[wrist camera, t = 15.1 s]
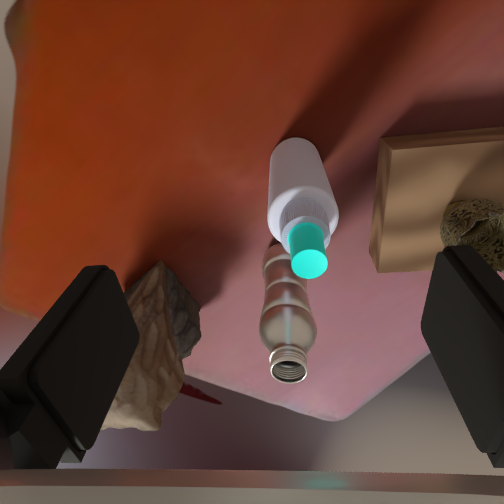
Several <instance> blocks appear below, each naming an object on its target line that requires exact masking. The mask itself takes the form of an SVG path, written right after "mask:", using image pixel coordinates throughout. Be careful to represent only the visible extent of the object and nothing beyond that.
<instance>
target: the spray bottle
mask: <svg viewBox="0 0 504 504" xmlns="http://www.w3.org/2000/svg"><path fill="white" fill-rule="evenodd" d="M338 220H339V211H338V207H337V204H336V201H335V198H334V195H333V192H332V190H331V187H330V184H329V181H328V178H327V175H326V173H325V170H324V167H323V164H322V161H321V158H320V155H319V153H318V150H317V149H316V147H315V146H314V145H313V144H312V143H311V142H309V141H308V140H306V139H303V138H289V139H286V140H284V141H283V142H281V143H280V144H279V145H278V146H277V147H276V148H275V149H274V151H273V153H272V155H271V159H270V175H269V196H268V225H269V229H270V231H271V233H272V234H273V236H274V237H275V238H276V239H277V240H278V241H279V242H281V243H282V245H283V247H284V249H285V250H286V251H287V252H288V253H290V256H291V266H292V270H293V271H294V273H295V274H296V275H298V276H299V277H302V278H305V279H312V278H316V277H318V276H320V275H322V274H323V273H324V272H325V270H326V268H327V265H328V262H327V257H326V251H325V249H326V247H327V246H328V245H329V242H330V238H331V237H330V236H331V235H332V234H333V232H334V231H335V229H336V227H337V224H338Z"/></svg>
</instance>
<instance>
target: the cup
mask: <svg viewBox="0 0 504 504" xmlns="http://www.w3.org/2000/svg"><path fill="white" fill-rule="evenodd" d="M440 236H441V240H442V242H443V245H444V247H446V246H454V245H471V246H472V247H473V248H474V249H475V250H476V251H477V252H478V253H479V254H480V255H481V256H482V257H483V258H484V260H485V261H486V262H487V263H488V264H489V265H490V266H491V267H492V268H493V269H494V270H495V272H496V273H497V270H498V271H500V272H502V273H504V205H503V204H501V203H498V202H496V201H493V200H490V199H485V198H473V199H468V200H457V201H455V202H453V203H451V204H450V205H448V206H447V208H446V209H445V211H444V213H443V219H442V222H441V225H440Z"/></svg>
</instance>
